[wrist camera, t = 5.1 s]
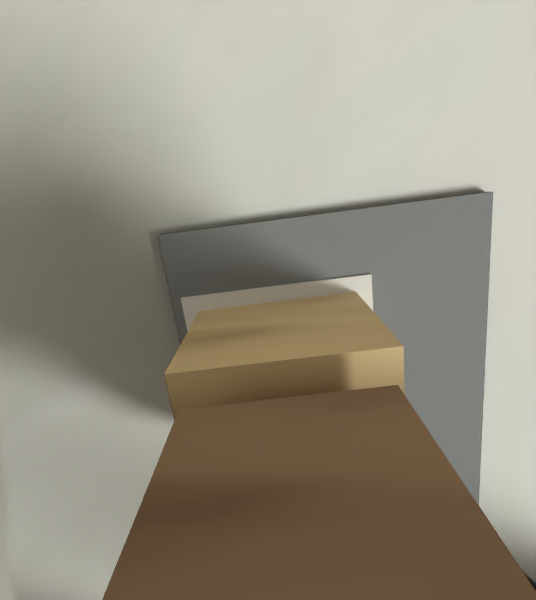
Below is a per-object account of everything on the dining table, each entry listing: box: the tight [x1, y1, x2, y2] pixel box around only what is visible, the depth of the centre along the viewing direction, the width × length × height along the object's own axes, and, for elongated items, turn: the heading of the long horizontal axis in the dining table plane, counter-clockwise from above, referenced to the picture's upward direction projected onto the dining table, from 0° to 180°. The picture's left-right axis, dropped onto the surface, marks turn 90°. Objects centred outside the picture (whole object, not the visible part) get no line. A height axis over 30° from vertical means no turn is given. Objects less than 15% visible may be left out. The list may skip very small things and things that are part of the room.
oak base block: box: [164, 292, 405, 419], centre depth 12 cm, size 6×6×5 cm
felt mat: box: [158, 192, 493, 506], centre depth 16 cm, size 16×12×1 cm
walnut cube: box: [103, 385, 536, 600], centre depth 7 cm, size 5×5×5 cm
